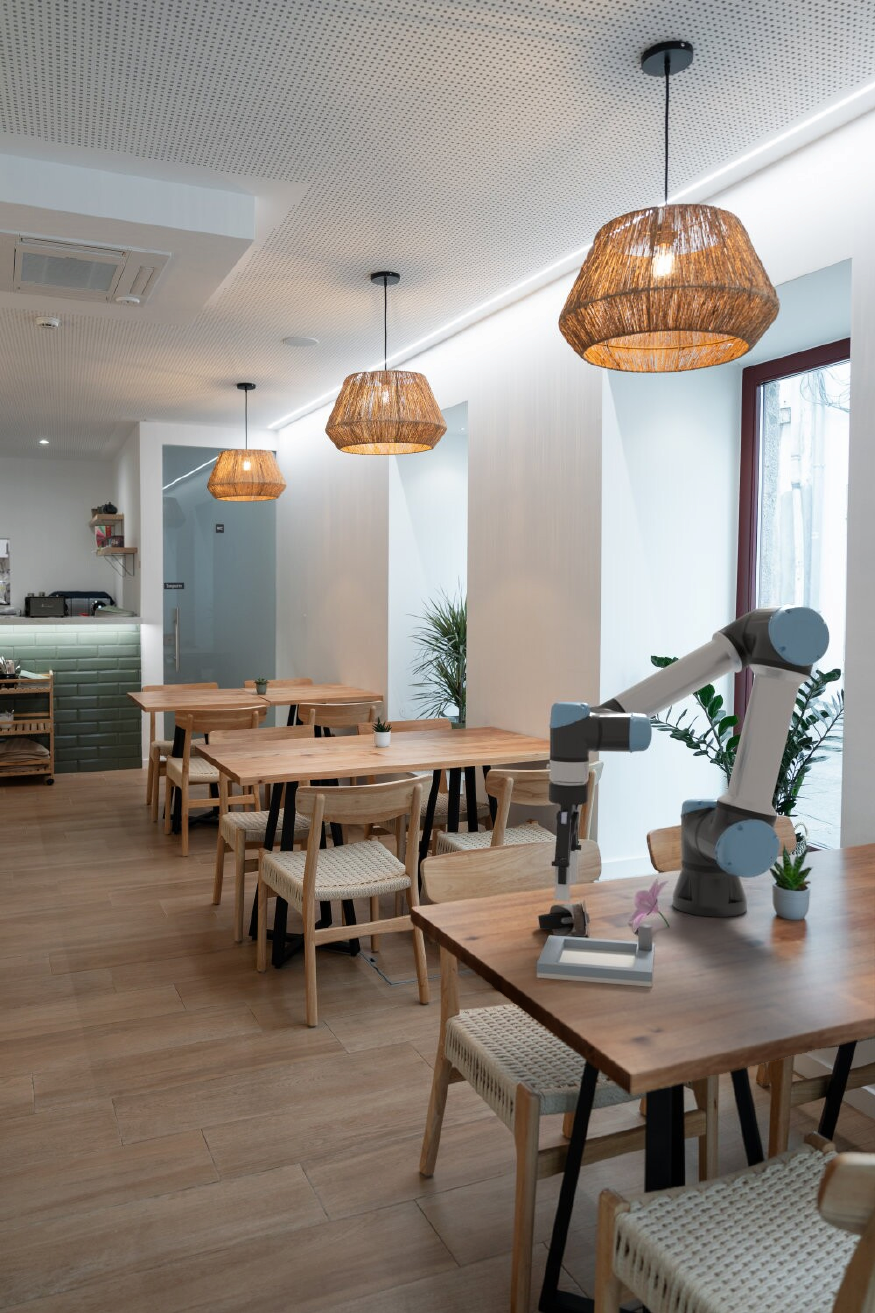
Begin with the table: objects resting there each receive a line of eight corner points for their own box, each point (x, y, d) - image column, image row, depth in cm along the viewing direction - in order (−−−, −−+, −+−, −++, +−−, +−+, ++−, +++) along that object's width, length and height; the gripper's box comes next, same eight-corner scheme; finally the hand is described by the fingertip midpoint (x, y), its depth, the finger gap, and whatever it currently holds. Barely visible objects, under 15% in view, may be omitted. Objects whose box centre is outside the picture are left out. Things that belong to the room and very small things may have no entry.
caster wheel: (543, 938, 197) (593, 932, 195) (538, 943, 186) (591, 937, 184) (538, 903, 198) (588, 898, 196) (533, 906, 187) (586, 900, 186)
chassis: (654, 956, 177) (654, 920, 177) (652, 987, 162) (652, 948, 162) (548, 948, 182) (549, 913, 182) (536, 977, 166) (536, 939, 166)
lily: (639, 920, 204) (618, 881, 202) (692, 904, 199) (671, 864, 197) (631, 955, 193) (609, 914, 191) (687, 939, 188) (665, 897, 186)
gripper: (556, 772, 203) (554, 875, 204) (540, 790, 179) (537, 907, 180) (593, 774, 202) (591, 878, 202) (581, 793, 177) (579, 910, 178)
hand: (566, 892), depth 191 cm, fingers open, 13 cm apart
